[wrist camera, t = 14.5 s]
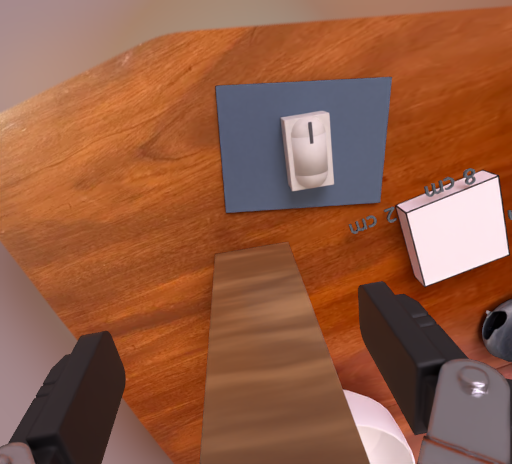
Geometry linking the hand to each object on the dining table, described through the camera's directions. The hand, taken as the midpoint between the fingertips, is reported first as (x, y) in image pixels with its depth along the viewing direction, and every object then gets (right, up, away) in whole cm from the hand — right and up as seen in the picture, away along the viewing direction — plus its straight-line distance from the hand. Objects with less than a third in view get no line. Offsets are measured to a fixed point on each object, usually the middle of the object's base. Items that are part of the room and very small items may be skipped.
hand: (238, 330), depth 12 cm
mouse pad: (+5, +11, +24) cm, 27 cm away
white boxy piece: (+5, +11, +23) cm, 26 cm away
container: (+21, +5, +28) cm, 35 cm away
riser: (+1, -4, +30) cm, 30 cm away
